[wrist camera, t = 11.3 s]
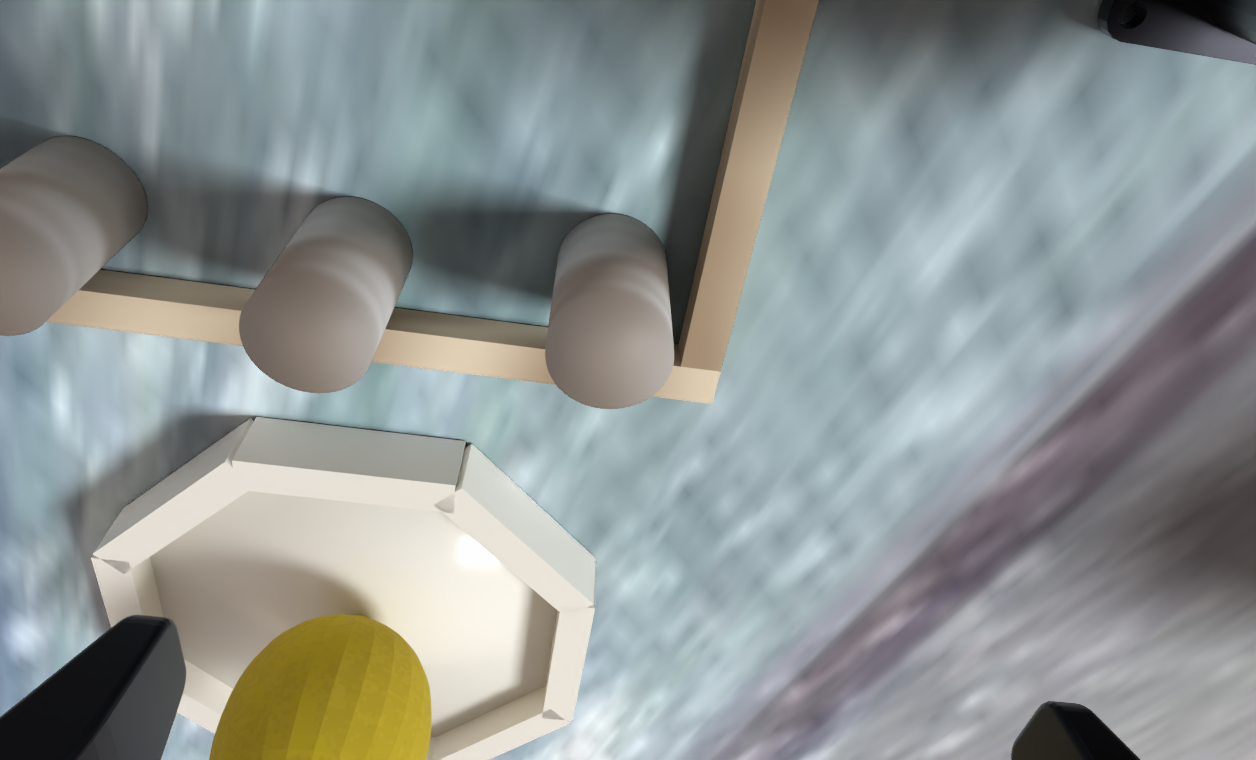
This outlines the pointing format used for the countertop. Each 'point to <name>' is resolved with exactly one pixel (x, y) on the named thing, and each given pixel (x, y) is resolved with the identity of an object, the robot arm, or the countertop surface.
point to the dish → (362, 571)
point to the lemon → (329, 697)
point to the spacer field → (382, 258)
